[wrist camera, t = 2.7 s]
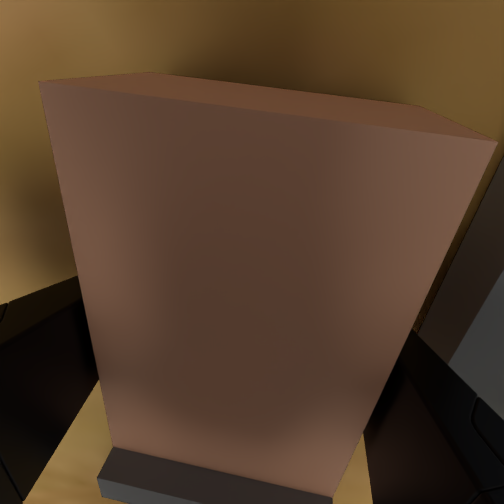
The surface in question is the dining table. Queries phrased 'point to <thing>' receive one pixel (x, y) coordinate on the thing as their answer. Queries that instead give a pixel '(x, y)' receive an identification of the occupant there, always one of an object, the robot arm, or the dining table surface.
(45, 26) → the dining table surface
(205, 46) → the dining table surface
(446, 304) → the dock
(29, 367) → the robot arm
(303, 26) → the dining table surface
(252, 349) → the pink panel on base
